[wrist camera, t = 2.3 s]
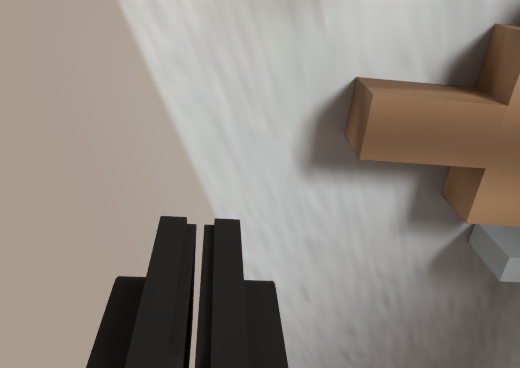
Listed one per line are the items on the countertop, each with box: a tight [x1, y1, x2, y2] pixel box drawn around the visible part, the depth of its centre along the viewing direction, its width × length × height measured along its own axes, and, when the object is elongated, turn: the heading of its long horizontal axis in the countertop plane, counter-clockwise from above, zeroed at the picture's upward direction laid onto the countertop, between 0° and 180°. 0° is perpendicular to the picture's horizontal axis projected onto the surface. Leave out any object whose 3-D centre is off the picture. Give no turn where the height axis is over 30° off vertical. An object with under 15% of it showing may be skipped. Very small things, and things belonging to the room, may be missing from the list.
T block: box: [345, 24, 520, 227], centre depth 21 cm, size 9×9×3 cm
